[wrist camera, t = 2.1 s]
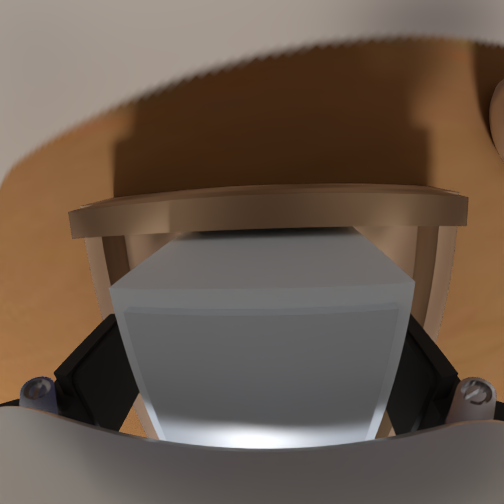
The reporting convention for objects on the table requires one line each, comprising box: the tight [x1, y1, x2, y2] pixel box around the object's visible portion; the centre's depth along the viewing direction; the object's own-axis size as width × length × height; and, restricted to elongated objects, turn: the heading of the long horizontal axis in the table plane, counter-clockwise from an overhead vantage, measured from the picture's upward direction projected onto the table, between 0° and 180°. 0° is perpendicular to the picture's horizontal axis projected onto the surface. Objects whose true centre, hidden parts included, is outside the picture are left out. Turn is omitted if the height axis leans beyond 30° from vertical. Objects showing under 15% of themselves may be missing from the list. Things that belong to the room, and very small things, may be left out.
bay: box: [68, 183, 468, 440], centre depth 13 cm, size 16×20×5 cm
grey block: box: [109, 226, 415, 449], centre depth 10 cm, size 6×8×8 cm
